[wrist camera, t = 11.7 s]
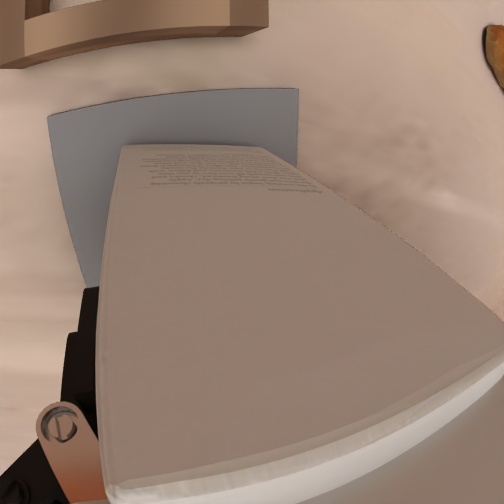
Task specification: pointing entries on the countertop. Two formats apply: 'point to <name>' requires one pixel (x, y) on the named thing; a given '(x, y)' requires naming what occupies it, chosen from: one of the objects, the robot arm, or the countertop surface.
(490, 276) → the countertop surface
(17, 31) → the holder
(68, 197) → the mat
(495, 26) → the pastry
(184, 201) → the small box
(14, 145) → the countertop surface
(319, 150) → the countertop surface
